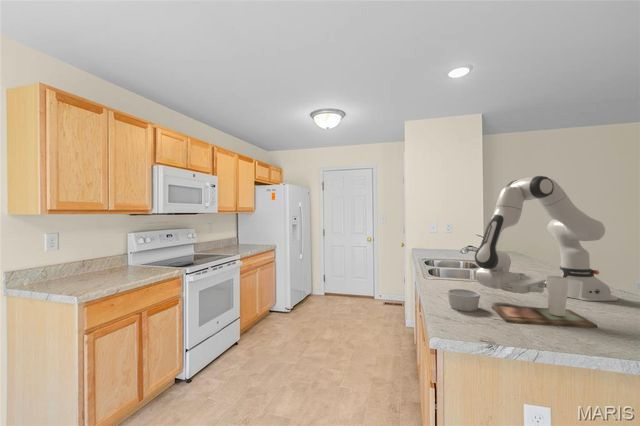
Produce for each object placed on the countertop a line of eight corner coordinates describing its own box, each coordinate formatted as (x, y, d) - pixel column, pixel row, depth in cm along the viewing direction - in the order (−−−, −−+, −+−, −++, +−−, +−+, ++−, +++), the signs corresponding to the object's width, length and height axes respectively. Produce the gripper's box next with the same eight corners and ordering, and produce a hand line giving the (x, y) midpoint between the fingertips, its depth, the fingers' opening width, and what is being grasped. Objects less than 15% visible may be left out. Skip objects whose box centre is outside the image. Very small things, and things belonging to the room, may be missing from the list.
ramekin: (483, 307, 136) (483, 291, 136) (475, 314, 126) (474, 298, 126) (453, 301, 145) (453, 287, 145) (443, 308, 135) (443, 293, 135)
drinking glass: (571, 318, 116) (571, 279, 116) (551, 316, 118) (551, 278, 117) (561, 312, 123) (562, 276, 123) (542, 311, 124) (543, 275, 124)
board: (569, 311, 127) (569, 308, 127) (597, 327, 110) (597, 324, 110) (491, 307, 135) (491, 304, 135) (505, 322, 117) (505, 318, 117)
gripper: (500, 278, 130) (536, 284, 118) (523, 272, 140) (559, 278, 129) (500, 292, 130) (536, 300, 118) (524, 286, 140) (559, 292, 129)
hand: (548, 288), depth 123 cm, fingers open, 8 cm apart
